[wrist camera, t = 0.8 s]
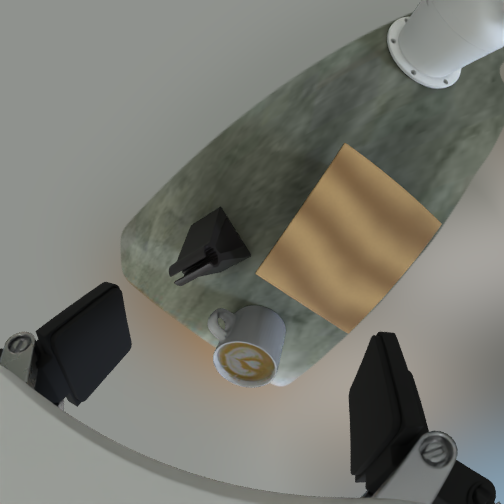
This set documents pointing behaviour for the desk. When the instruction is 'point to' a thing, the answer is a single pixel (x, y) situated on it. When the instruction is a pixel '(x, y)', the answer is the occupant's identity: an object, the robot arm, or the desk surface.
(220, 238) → the phone stand
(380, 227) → the oak board
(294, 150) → the desk surface
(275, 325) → the coffee mug
